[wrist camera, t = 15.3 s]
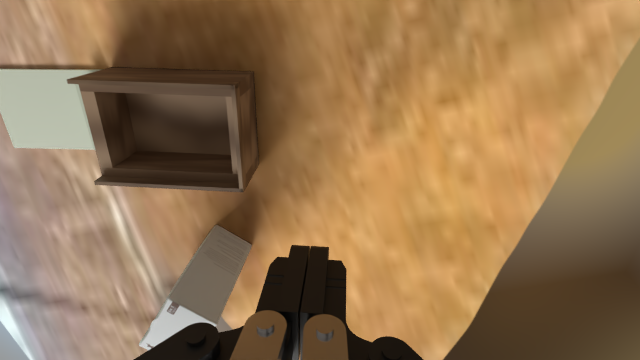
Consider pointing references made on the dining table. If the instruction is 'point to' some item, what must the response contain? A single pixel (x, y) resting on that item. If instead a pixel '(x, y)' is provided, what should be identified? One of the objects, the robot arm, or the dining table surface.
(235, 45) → the dining table surface
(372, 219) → the dining table surface
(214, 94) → the box
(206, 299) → the skincare box
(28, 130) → the lid
